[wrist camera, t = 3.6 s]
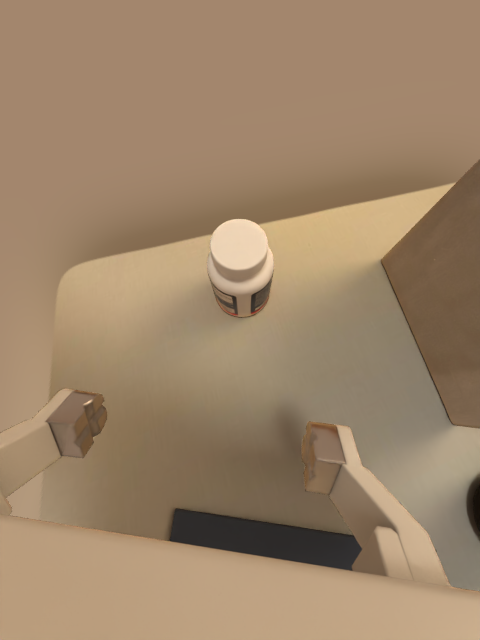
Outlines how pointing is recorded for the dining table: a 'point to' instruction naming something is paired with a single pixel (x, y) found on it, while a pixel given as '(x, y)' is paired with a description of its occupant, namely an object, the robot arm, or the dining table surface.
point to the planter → (445, 294)
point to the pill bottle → (240, 267)
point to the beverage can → (477, 507)
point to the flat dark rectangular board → (265, 539)
